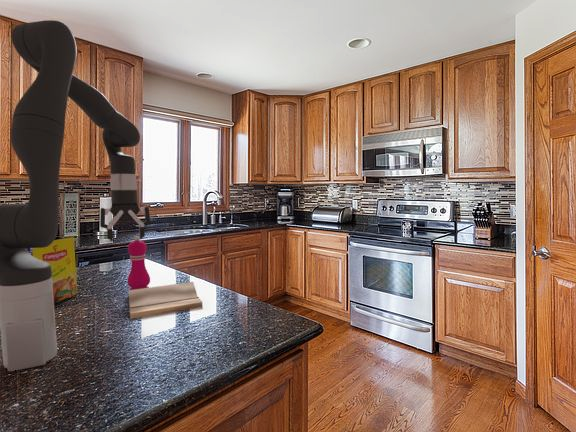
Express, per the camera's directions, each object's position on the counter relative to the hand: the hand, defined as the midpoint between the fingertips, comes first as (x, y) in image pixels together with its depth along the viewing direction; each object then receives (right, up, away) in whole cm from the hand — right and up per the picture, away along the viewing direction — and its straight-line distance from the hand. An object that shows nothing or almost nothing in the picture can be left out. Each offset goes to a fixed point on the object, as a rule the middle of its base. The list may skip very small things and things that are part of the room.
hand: (126, 239), depth 109 cm
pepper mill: (0, -20, +10) cm, 22 cm away
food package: (-23, -20, +2) cm, 31 cm away
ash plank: (+12, -18, -1) cm, 22 cm away
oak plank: (+15, -20, -7) cm, 26 cm away
